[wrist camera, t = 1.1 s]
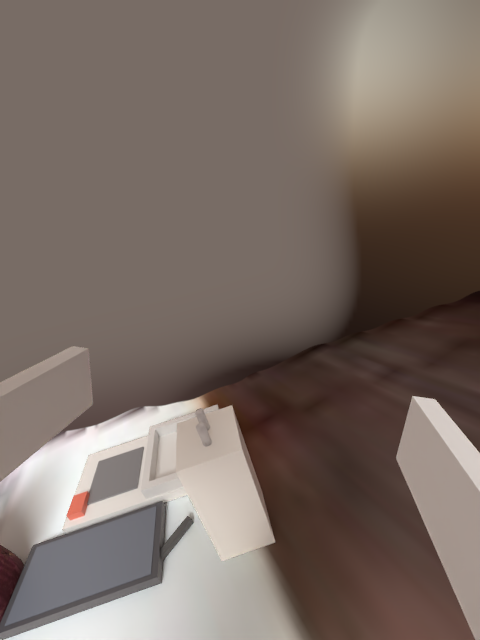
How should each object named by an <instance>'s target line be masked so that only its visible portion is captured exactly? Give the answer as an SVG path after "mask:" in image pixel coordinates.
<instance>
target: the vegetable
mask: <svg viewBox="0 0 480 640" xmlns="http://www.w3.org/2000/svg"><path fill="white" fill-rule="evenodd" d="M23 568H24V564H23V562H22V561H21V559H19V558H18V557H17V556H16V555H15V554H13V553H12V552H11V551H9V550H8V549H6V548H4V547H3V546H1V545H0V623H1V620H2V618H3V615H4V613H5V611H6V608H7V606H8V604H9V601H10V599H11V596H12V594H13V592H14V589H15V587H16V585H17V582H18V580H19V578H20V575H21V573H22V570H23Z"/></svg>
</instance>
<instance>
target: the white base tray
mask: <svg viewBox="0 0 480 640" xmlns="http://www.w3.org/2000/svg"><path fill="white" fill-rule="evenodd" d="M203 410H204V413H205V414H207V413H210V412H213V411H216V410H219V407H218V405H214V406H211V407H208V408H205V409H203ZM195 417H196V415H195V412H193V413H190V414H187V415H184V416H181V417H178V418H175V419H172V420H169V421H166V422H163V423H160V424H157V425H154V426H151V427H150V428H149V435H148V436H145V437H142V438H139V439H136V440H133V441H130V442H127V443H124V444H121V445H118V446H115V447H112V448H109V449H106V450H103V451H100V452H97V453H94V454H91V455H89V456H88V459H87V461H86V464H85V467H84V470H83V473H82V475H81V478H80V481H79V484H78V487H77V489H76V492H75V495H74V497H73V499H72V502H71V505H70V508H69V511H68V513H67V517H66V520H65V523H64V526H63V529H62V530H63V531H64V533H65V534H68V533H71V532H74V531H77V530H80V529H83V528H85V527H88V526H91V525H94V524H97V523H100V522H103V521H106V520H109V519H112V518H115V517H118V516H120V515H123V514H126V513H129V512H132V511H135V510H138V509H141V508H144V507H147V506H150V505H153V504H155V503H158V502H161V501H163V503H166V502H169V501H172V500H175V499H178V498H180V497H183V496H186V495H187V493H186V491H185V489H184V487H183V485H182V483H181V481H180V479H179V477H178V475H177V474H176V442H177V423H179V422H182V421H185V420H189V419H192V418H195Z"/></svg>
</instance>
